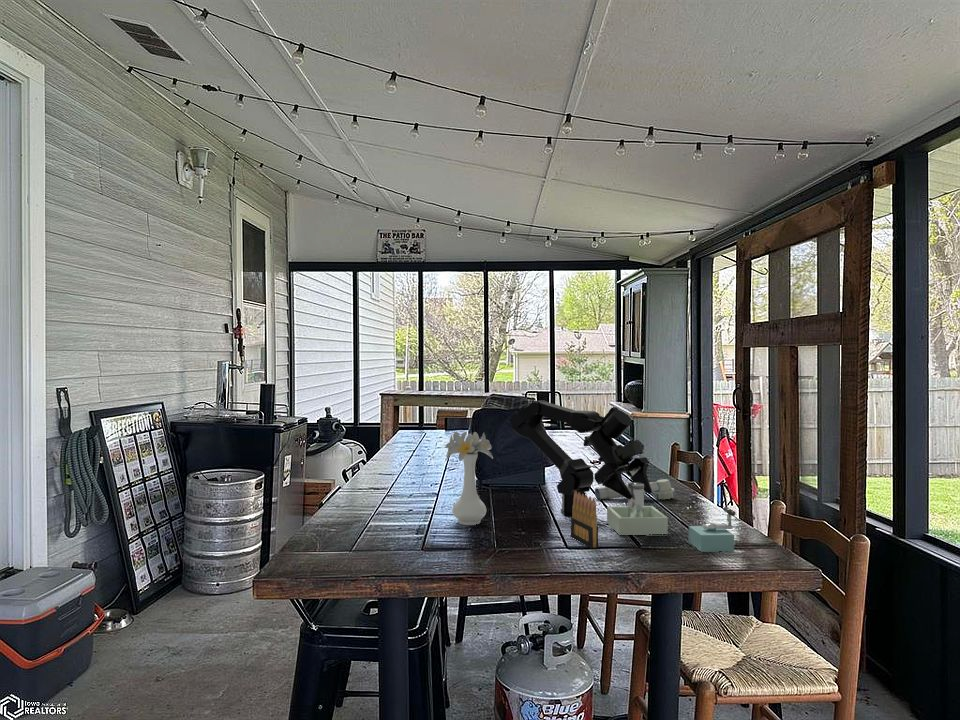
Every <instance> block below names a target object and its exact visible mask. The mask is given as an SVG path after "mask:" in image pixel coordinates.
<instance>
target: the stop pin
mask: <svg viewBox="0 0 960 720" xmlns="http://www.w3.org/2000/svg"><path fill="white" fill-rule="evenodd" d="M627 485H628V489H629V491H630V493H631V495H632V498H631V499H628V498H627V499H628V501H627V502H628V503H627V504H628V505H627V506H628V517H644V506H645V502H644V501H645V497H644V496H645V495H644V494H645V493H644V484H643V483H639V482H633V481H630V482H628V483H627Z"/></svg>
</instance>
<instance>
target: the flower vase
mask: <svg viewBox="0 0 960 720" xmlns="http://www.w3.org/2000/svg"><path fill="white" fill-rule="evenodd" d="M486 438H487V437H486V434H485V432H483V433H482V435H481V436H479V434H478V433H477V432H476V431H474V432H472V433H468V434H467V431H464V432H462V433H461V435H459V433H458V431H454V432H453V434H450V438H449V442H448V443H447V444H445V446H444V447H445V448H446V449H447V453H446V458H445V462H447V460H448V459H449V458H450V457H451V456H452V455H453V454H458V457H457V458H458V461H459V462H460V461H463V469H464V470H463V471H464V472H463V474H464V475H463V486H462V487H463V488H462V492H461V494H460V497H459V499H457V501H456V502H455V503H454V504H453V506H452V515H453V516H454V518H455V519H456V520H457V523H458V524H459V525H462V526H476V524H477V525H479V524H480V523H481V521H482V519H483V518H485V516H486V514H487V507H486V505H485V503H484V502H483V501H482V500H481V498H480V497H479V494H478V491H477V487H476V462H477V459H478V456H479V455H478V454H479V452H481V453H484V454H485V455H487V456H488V457H490V459H492V460H493V459H494V457H493V454H492V452H491V451H489V450H492V444H491V443H490V440H489V439H486Z"/></svg>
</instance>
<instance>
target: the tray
mask: <svg viewBox="0 0 960 720" xmlns="http://www.w3.org/2000/svg"><path fill="white" fill-rule="evenodd" d="M668 521H669V519H668V517H667V516H666V515H665V514H664V513H662V512H661V511H659V510H658V509H657V508H655V507H654V506H653V505H644V517H628V505H627V506H626V505H621V506H618V505H617V506H615V505H613V506H612V505H611V506H607V507H606V523H607V522H608V523H607V525H608V526H609V527H610V526H611V527H612V528H613V529H614V530H615V531H616V532H617V533H618V534H619V535H646V536H653V535H652V534H662V535H661V536H664V535H663V534H668V526H669V524H668V523H669V522H668ZM612 528H611V529H612ZM613 529H612V530H613ZM614 530H613V531H614ZM615 531H614V532H615ZM616 532H615V533H616ZM617 533H616V534H617ZM618 534H617V535H618ZM649 534H651V535H649ZM619 535H618V536H619ZM668 535H669V534H668Z"/></svg>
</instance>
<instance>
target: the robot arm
mask: <svg viewBox="0 0 960 720" xmlns="http://www.w3.org/2000/svg"><path fill="white" fill-rule="evenodd" d="M544 418H549V419H552V420H555V421H558V422H562V423H564V424H567V425H568V426H569V427H570V428H571V429H572V430H574V431H576V432H578V433H580V434H584V433H590V434H589V435H586V436H584V438H583V439H584V441H583V447H590V446H591V447H592V448H593V449H594V451H595V452H596V453H597V455H598V456H599V457H598V459H597V460H598V461H599V463H603V465H602V466H601V467H599V469H598V470H597V471H596V472H595V473H594V471H593V470H592V469H591V468H592V466H591V465H588V464H587V462H586V461H585V460H584V459H583V458H575V459H573V458H571V456H570V455H569V454H568V453H567V452H566V451H565V450H564V449H563V448H562V447H561V446H560V445H559V444H558V443H557V442H556V441H555V440H554V439H553V438H552V437H551V436H550V435H549V434H548V433H547V432H545V430H544V429H543V427H542V426H543V425H542V421H543V420H544ZM632 424H633V423H632V418H631V417H630V415H628V414H627V413H625V412H624V411H622V410H620V409H619V408H618V407H617V406H615V407H611V408H610V409H609V411H607V413H606V414H605V416H603V415H602V416H601V415H600V413H599V412H598V411H595V410H594V411H593V410H575V409H571V408H568V407H565V406H561V405H558V404H554V403H551V402H549V401H547V400H535V401H533V402H532V403H530V404H529V406H526V407H524V408H523V409H521V410H519V411H518V412H517V413H516V412H515V413H514V414H513V415H512V416H511V418H510V427H511V429H512V431H514V432H515V433H517V434H518V435H519V436H521V437H523V438H526V439H528V440H530V441H531V442H532V443H533V444H534V445H535V446H536V447H537V448H538V450H540V452H541V453H543V455H544V456H545V457H546V458H547V459H548V460H549V461H550V462H551V463H552V464H553V465H554V466H555V467H556V468H557V469H558V470H559V473H560V474H559V475H560V478H561V481H560V482H559V483H558V484H556V489H557V493H558V494H561V509H560V512H561V513H562V514H563V516H564V517H572V508H573V498H574V493H575V491H577V494H578V493H579V492H580V494H581V496H582V494H584V497H585V496H586V495H587V493H588V492H590V490H591V487H592V485H593V483H594V481H595V482H596V484H597V485H599V486H600V485H601V487H605V486H606V487H608V488H610V489H612V490H614V491H615V492H617V493H619V494H621V495H622V496H624V497H625V498H626V499H631V498H632V495H631V493H630V491H629V489H628V488H627V486H626V485H627V484H626V483H625V481H624V480H623V477H622V474H626V475H627V476H628V477H630V478H629V479H630V480H631V482H639V483H643V484H644V491H645V492H647V493H646V494H648V495H650V494H652V493H653V492H652V490H651V487H650V484H649V483H650V481H649V478H648V475H647V474H648V473H647V472H648V469H649V467H650V464H651V462H650V460H649V459H648V457H646V456H638V457H635V456H637V455H642V454H644V450H645V449H644V448H645V444H643V443H642V442H641V440H640V439H635V440H633V441H630V443H627V444H624V445H622V444H617V443H616V442H615V440H614V439H618V438H621V436H622V435H623V434H624V432H626V431H627V429H628V428H629V427H630V426H631V425H632ZM634 457H635V458H634ZM624 497H623V498H624Z"/></svg>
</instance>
